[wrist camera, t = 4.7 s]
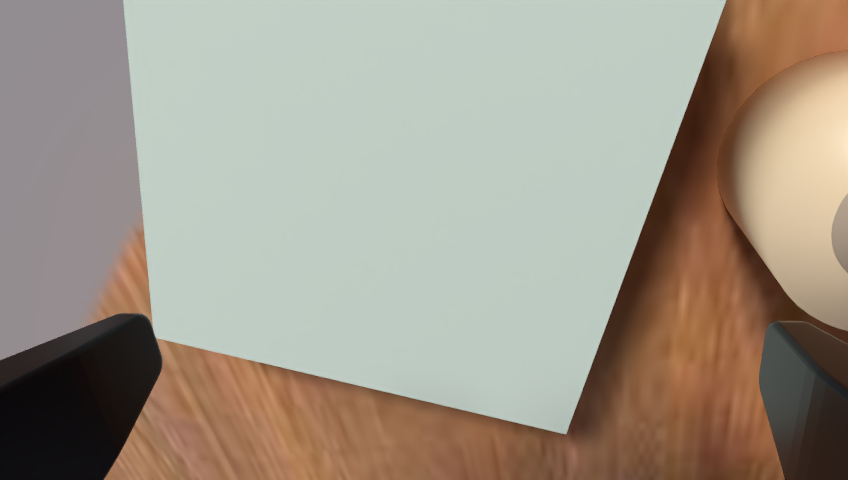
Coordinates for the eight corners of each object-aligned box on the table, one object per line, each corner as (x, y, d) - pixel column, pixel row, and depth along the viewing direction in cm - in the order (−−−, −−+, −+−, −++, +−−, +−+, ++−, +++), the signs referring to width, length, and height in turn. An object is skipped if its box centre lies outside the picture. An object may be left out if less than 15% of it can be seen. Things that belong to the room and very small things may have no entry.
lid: (752, -102, 13) (763, -102, 13) (565, 416, 21) (565, 434, 20) (125, -205, 14) (104, -211, 14) (166, 323, 22) (154, 337, 21)
